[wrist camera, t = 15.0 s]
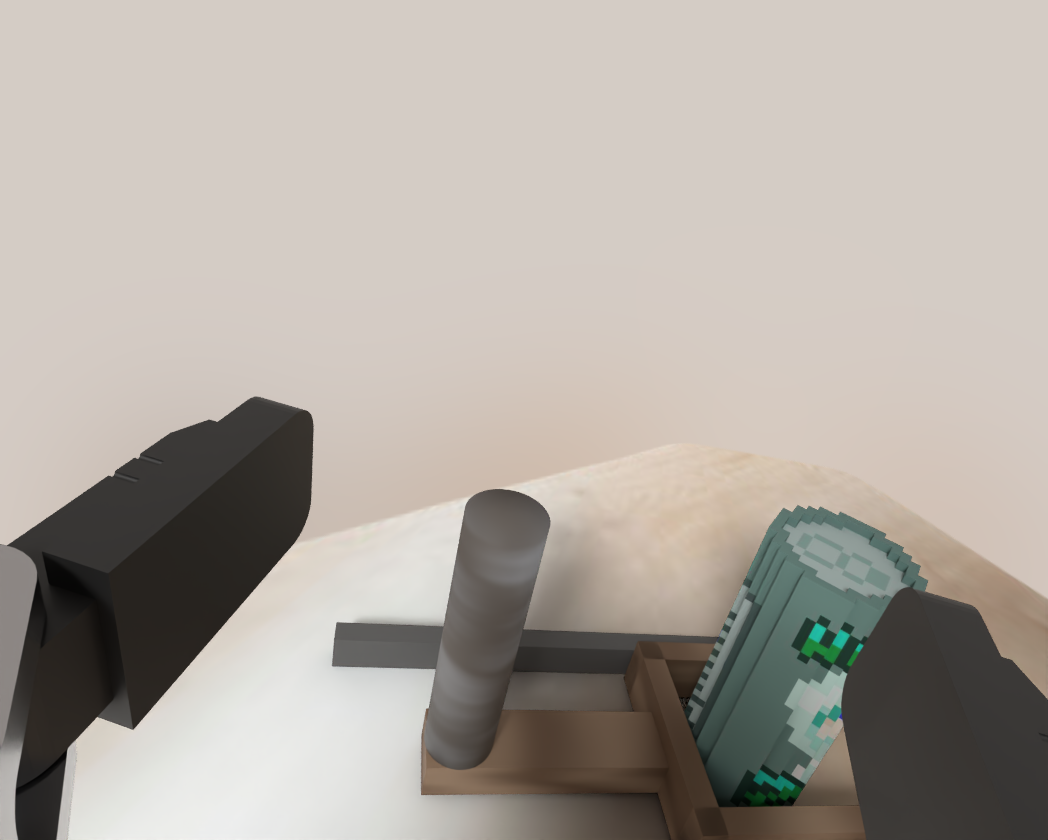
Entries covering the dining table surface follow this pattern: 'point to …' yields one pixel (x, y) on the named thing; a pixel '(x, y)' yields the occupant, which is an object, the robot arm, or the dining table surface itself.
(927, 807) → the robot arm
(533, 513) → the pull sled
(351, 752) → the dining table surface
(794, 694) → the can
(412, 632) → the lane rails
